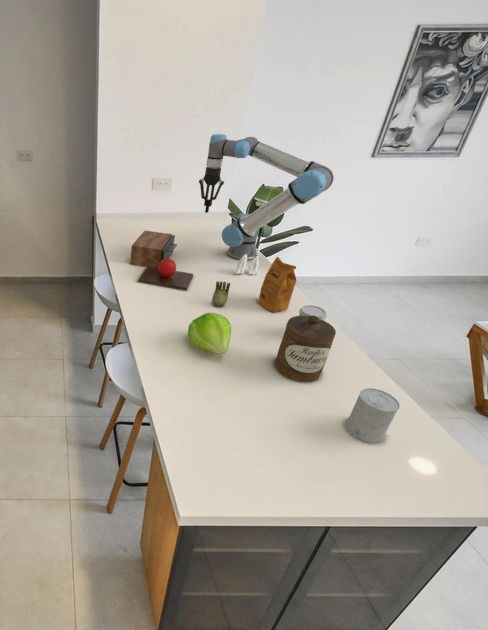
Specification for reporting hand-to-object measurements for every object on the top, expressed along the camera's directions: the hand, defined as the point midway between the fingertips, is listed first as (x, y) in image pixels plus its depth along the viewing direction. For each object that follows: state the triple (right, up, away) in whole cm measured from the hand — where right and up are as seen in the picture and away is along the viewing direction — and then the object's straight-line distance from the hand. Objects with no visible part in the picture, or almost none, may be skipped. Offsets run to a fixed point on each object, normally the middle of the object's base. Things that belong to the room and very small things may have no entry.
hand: (206, 211), depth 229 cm
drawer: (-26, -24, +6) cm, 36 cm away
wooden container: (+7, -76, -78) cm, 109 cm away
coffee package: (+16, -52, -39) cm, 67 cm away
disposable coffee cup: (+19, -65, -60) cm, 91 cm away
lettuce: (-21, -69, -66) cm, 98 cm away
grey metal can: (+13, -91, -103) cm, 138 cm away
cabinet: (-29, -24, +8) cm, 38 cm away
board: (-26, -38, -15) cm, 48 cm away
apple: (-26, -37, -16) cm, 48 cm away
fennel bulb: (-7, -52, -38) cm, 65 cm away
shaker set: (+16, -35, -11) cm, 40 cm away
